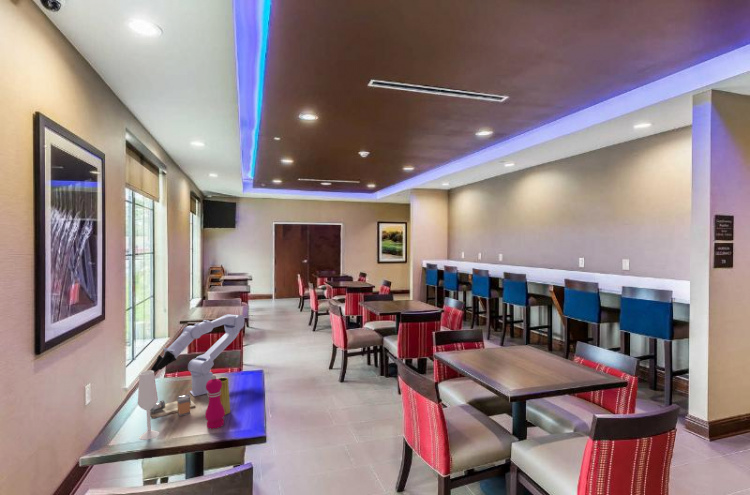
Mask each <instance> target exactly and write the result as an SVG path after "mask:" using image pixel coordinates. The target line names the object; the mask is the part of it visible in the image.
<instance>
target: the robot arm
mask: <svg viewBox="0 0 750 495" xmlns="http://www.w3.org/2000/svg"><path fill="white" fill-rule="evenodd" d="M245 321H246V320H245V317H244V315H241V314H239V315H237V314H230V313H228V314H224V315H222V316H221V317H218V318H216V319H213V320H207V319H204V320H202V321H201V322H197V323H194V325H188V326H184V328H183V329H182V330H183V331H182V332H181V334H180V335H179V336H178V337H177V338H176V340H174V341H173V342H172V343H171V345H169V346H168V347H164V348H163V349H162V350H163V355H161V354H160V355H158V356H157V358H156V360H155V363H154V364H153V365H152V366H151V369H150V371H154V374H155V373H156V372H158V371H159V370H160V371H161V370H162V369H164V368H166V367H167V366H168V365H170V364H171V363H172V362H173V363H174V362H176V361H177V359H178V356H180V355H181V353H183V351H185V349H186V348H188V346H189V345H190V344H191V343H192V342H193V341H194V340H196V339H197V340H198V339H200V338H201V337H202V336H203V335H205V334H208V333H210V332H212V331H213V329H214V328H218V327H220V326H224V331H225V333H224V334H223V335H222V336H221V337H220V338H219V339H218V340H217V341H216V342H215V343H213V345H212V346H211V347H209V348H208V349H207V351H206V352H204V353H203V354H200V355H198V356H196V358H193V359H191V360H190V361H189V362H188V364H187V370H188V372H190V376H191V390H189V393H190V394H191V395H192V396H193V397H198V396H202V395H206V394H207V393H208V391H207V390H206V383H207V382H208V381H209V380H211V377H212V376H213V375H214V374H213V372H212V371H211V369H212V367H213V366H214V361H215V359H217V357H219V355H221V353H222V352H224V351H225V349H227V347H228V346H229V345H231V344H232V342H233V341H234V340H235V339H236V338H237V337H238V335H239V333H240V331H241V330H242V329H243V328H244V327H245ZM207 395H208V394H207Z"/></svg>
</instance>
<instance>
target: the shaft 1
mask: <svg viewBox="0 0 750 495" xmlns="http://www.w3.org/2000/svg"><path fill="white" fill-rule="evenodd" d="M165 404H166V403H165V401H164V400H159V402H157V403H156V405H155V406H154V407H153V408H152V409H151V410H150V413H152V414H157V413H160V412H163V409H165Z"/></svg>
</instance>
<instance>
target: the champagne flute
mask: <svg viewBox="0 0 750 495" xmlns="http://www.w3.org/2000/svg"><path fill="white" fill-rule="evenodd" d="M138 378H139V380H138V394H137V405H138V406H139V407H140V409H142V410H144V411H146V427H147V430H146V431H145V432H143V433H142V434H141V435H140V436H139V439H140V440H144V441H147V440H151V439H154V438H156V437H158V436H159V435H160V432H159V431H157V430H153V429H152V424H151V422H152V421H151V420H152V418H151V415H150V410H151V409H152V408H153V407H154V406H155V405H156V403H158V401H159V397H158V391H157V384H156V377H155V373H154V371H151V370H143V371H141V372H140V373H139V376H138Z"/></svg>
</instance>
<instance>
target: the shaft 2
mask: <svg viewBox="0 0 750 495" xmlns="http://www.w3.org/2000/svg"><path fill="white" fill-rule="evenodd" d="M185 397H188V398H189V399H190V403H191V401H192V400H191V396H190V394H189V393H188V394H184V395H177V399H181V398H185ZM177 399H176V400H177Z"/></svg>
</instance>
